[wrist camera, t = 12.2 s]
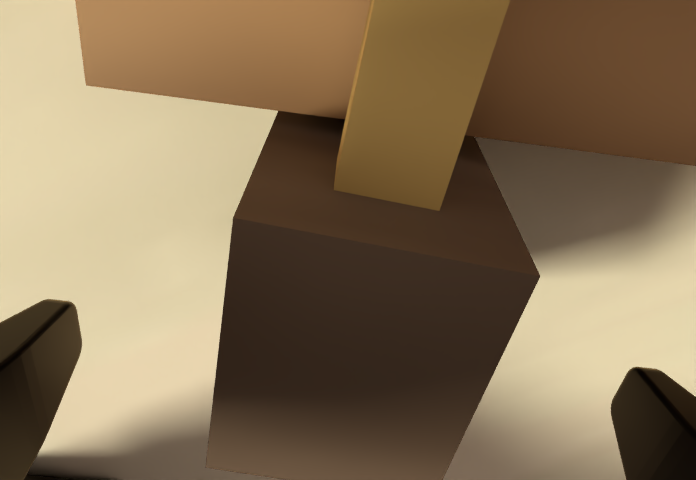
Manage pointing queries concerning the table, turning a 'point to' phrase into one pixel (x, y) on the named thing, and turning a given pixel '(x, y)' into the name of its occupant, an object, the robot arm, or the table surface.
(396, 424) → the mallet
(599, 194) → the table surface
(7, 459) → the robot arm
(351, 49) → the plank
